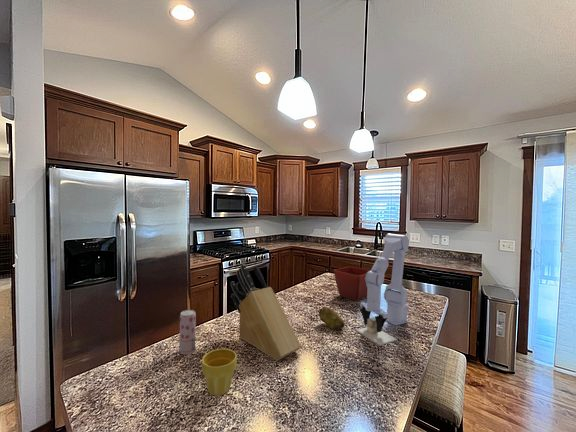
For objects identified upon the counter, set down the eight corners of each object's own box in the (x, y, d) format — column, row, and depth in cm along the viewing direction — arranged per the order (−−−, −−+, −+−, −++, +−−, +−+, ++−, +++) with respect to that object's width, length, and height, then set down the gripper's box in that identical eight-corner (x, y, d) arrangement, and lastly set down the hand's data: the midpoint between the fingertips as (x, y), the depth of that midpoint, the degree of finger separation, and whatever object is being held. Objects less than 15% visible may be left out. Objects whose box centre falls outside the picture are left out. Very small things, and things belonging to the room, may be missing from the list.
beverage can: (179, 348, 102) (180, 310, 101) (195, 345, 104) (195, 308, 103) (179, 356, 96) (179, 316, 96) (195, 353, 98) (196, 314, 98)
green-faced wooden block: (373, 330, 119) (373, 317, 119) (377, 332, 117) (378, 319, 117) (366, 332, 117) (367, 318, 117) (371, 334, 115) (371, 321, 115)
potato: (331, 334, 116) (332, 316, 116) (315, 322, 128) (316, 306, 127) (346, 330, 120) (346, 313, 120) (329, 319, 132) (330, 303, 131)
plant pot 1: (205, 377, 85) (206, 348, 84) (237, 376, 86) (238, 347, 85) (197, 401, 74) (197, 367, 74) (234, 399, 75) (234, 366, 75)
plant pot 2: (349, 289, 180) (350, 265, 180) (375, 297, 166) (375, 271, 166) (332, 295, 167) (333, 269, 167) (358, 304, 153) (359, 276, 153)
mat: (372, 326, 124) (372, 325, 124) (396, 340, 112) (396, 339, 112) (356, 331, 120) (356, 329, 120) (379, 345, 107) (379, 344, 107)
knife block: (247, 323, 125) (248, 259, 124) (302, 353, 100) (304, 274, 99) (227, 330, 117) (228, 262, 116) (280, 366, 92) (282, 279, 91)
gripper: (355, 294, 122) (354, 323, 122) (379, 305, 109) (378, 337, 109) (367, 292, 125) (366, 320, 125) (391, 302, 112) (390, 333, 112)
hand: (372, 327), depth 117 cm, fingers open, 7 cm apart
